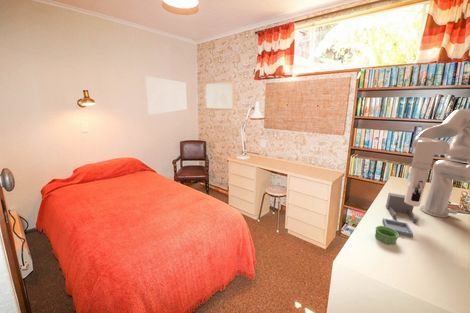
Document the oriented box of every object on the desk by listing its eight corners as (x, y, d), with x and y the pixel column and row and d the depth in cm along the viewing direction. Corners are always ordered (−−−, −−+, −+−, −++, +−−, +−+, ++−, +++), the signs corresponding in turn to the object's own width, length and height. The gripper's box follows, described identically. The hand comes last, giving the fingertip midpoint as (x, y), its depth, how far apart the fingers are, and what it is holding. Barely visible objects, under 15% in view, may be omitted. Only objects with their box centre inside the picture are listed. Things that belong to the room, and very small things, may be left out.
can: (422, 207, 113) (428, 185, 109) (408, 205, 114) (413, 183, 111) (415, 201, 119) (420, 180, 116) (401, 200, 120) (406, 179, 117)
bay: (409, 210, 133) (413, 196, 131) (418, 223, 119) (422, 208, 116) (385, 206, 138) (388, 192, 135) (391, 218, 123) (394, 203, 121)
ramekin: (369, 236, 106) (371, 227, 105) (382, 232, 110) (384, 224, 108) (388, 247, 98) (390, 238, 97) (401, 243, 102) (403, 234, 100)
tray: (406, 226, 115) (407, 223, 115) (412, 237, 106) (413, 234, 105) (382, 221, 119) (383, 218, 119) (386, 231, 110) (387, 228, 109)
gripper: (407, 159, 120) (399, 190, 125) (417, 168, 105) (408, 203, 109) (424, 161, 117) (416, 193, 122) (437, 171, 102) (427, 207, 106)
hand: (412, 197), depth 115 cm, fingers closed on can, 6 cm apart
